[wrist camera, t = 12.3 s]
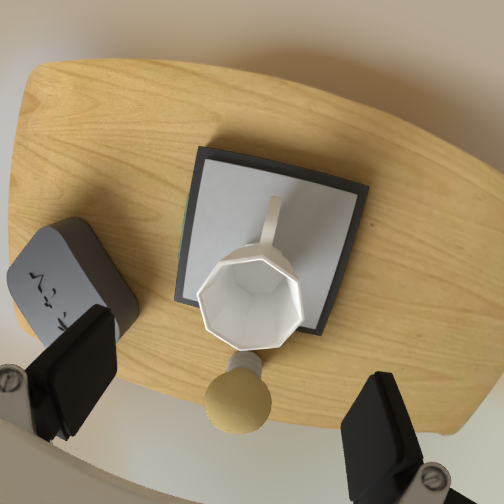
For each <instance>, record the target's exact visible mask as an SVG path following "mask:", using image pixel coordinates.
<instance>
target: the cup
mask: <svg viewBox="0 0 504 504" xmlns="http://www.w3.org/2000/svg"><path fill="white" fill-rule="evenodd" d="M281 201H282V198H280V197H275V196H271V198H270V202H269V206H268V210H267V214H266V218H265V222H264V226H263V230H262V235H261V239H260V242H256V243H249V244H246V245H245V247H242V248H238V249H236V250H234V251H233V252H232V253H230V254H229V255H227V256H226V257H224V258H223V259H221V260H220V261H219V262H218V263H217V264H216V266H215V267H214V269H213V270H212V272H211V273H210V275H209V276H208V277H207V279H206V280H205V282H204V283H203V285H202V286H201V288H200V289H199V291H198V292H197V293H196V295H197V298H198V302H199V306H200V309H201V313H202V316H203V320H204V324H205V327H206V330H207V331H209V332H210V333H212V334H213V335H215V336H217V337H218V338H220V339H221V340H223V341H224V342H226V343H228V344H229V345H231V346H232V347H234V348H236V349H237V350H239V351H245V350H257V349H267V348H277V347H280V346H281V345H282V344H283V343H284V342H285V340H286V339H287V338H288V337H289V336H290V335H291V334H292V333H293V332H294V331H295V330H296V329H297V328H298V326H299V325H300V324H301V323H302V322H303V321H304V320H305V318H304V310H303V302H302V294H301V286H300V280H299V278H298V277H297V275H296V273H295V272H294V270H293V268H292V266H291V264H290V262H289V261H288V260H287V259H286V258H285V257H283V256H282V252H281V251H279V250H278V249H276V248H275V247H274V246H272V243H273V238H274V234H275V230H276V226H277V221H278V216H279V212H280V207H281Z"/></svg>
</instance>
